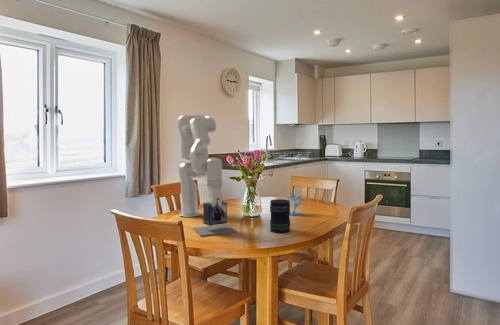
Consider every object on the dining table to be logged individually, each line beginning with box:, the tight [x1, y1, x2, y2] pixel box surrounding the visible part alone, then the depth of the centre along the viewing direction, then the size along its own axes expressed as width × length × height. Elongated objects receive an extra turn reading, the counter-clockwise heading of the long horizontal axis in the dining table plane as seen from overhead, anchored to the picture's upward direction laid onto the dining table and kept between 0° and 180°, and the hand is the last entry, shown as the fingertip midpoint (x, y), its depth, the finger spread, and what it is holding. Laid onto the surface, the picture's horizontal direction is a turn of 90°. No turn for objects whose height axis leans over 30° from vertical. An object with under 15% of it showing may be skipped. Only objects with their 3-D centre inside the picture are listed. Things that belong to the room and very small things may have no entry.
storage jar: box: [269, 198, 291, 234], centre depth 178 cm, size 10×10×15 cm
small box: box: [202, 200, 228, 226], centre depth 180 cm, size 11×6×10 cm, turn 126°
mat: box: [192, 223, 238, 237], centre depth 180 cm, size 15×18×1 cm
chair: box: [286, 193, 304, 217], centre depth 215 cm, size 8×8×12 cm
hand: (215, 218), depth 180 cm, fingers closed on small box, 7 cm apart
